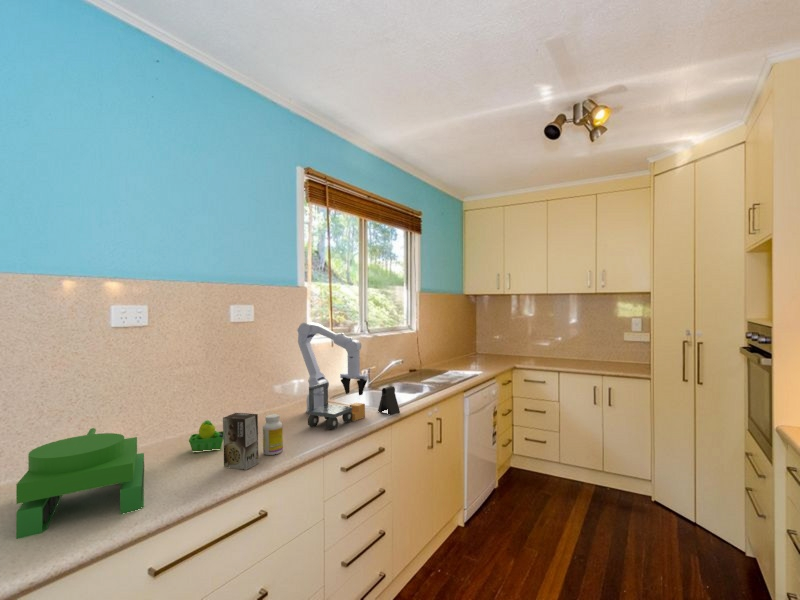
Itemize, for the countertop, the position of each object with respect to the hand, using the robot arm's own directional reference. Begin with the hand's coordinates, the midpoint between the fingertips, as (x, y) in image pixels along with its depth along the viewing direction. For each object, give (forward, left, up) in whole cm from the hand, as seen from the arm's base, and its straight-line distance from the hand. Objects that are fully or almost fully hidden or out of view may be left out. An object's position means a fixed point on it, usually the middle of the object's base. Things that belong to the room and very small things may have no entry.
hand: (354, 394), depth 191 cm
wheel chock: (+5, -6, -9) cm, 12 cm away
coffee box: (+1, -67, -10) cm, 68 cm away
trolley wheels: (0, -18, -9) cm, 20 cm away
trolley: (0, -18, -4) cm, 19 cm away
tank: (-20, -99, -10) cm, 102 cm away
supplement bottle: (+2, -54, -10) cm, 55 cm away
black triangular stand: (+14, +9, -10) cm, 19 cm away
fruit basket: (-22, -62, -10) cm, 67 cm away
